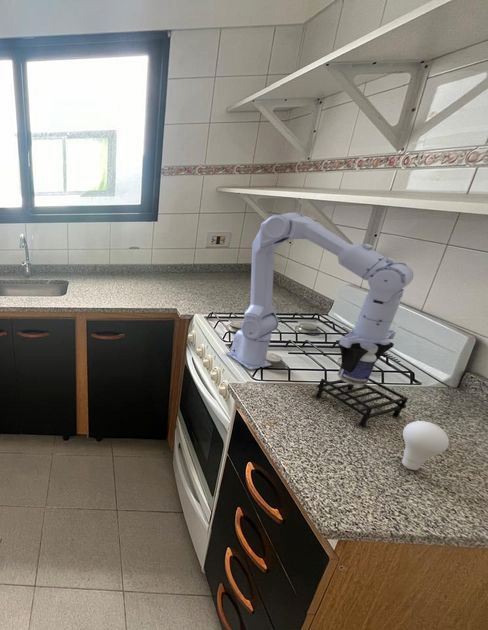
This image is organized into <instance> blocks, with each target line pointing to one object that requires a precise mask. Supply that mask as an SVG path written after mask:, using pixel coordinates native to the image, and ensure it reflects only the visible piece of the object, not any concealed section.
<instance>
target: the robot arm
mask: <svg viewBox="0 0 488 630" xmlns="http://www.w3.org/2000/svg"><path fill="white" fill-rule="evenodd" d="M287 240H307V241H310V242H311V243H313V244H315V245H317V246H318V247H320V248H322V249H323V250H325V251H327V252H330V253H331V254H334V255H335V256H336V257H337V260H338V264H339V265H340V266H342V267H343V268H345V269H346V270H348V271H350V272H352V273H353V274H354V275H356V276H358V277H359V278H361V279H363V280H364V281H367V282H368V287H369V290H368V293H367V295H366V297H365V299H364V301H363V305H362V307H361V310H360V312H359V315H358V317H357V321H356V324H355V326H354V327H353V328H354V329H352V330H351V331H349V332H348V333H347V334H346V335H344V336H341V337H340V339H339V340H338V342H337V345H338V347H339V350H340V354H341V364H342V369H344V370H346V371H347V372H352V371H353V370H354V369H355V367H356V365H357V363H358V362H359V360H360V359H361V358H362V357H363V356H364V355H365V354H366V353H367V352H369V351H367V350H365V349H363V348H361V346H360V344H361V343H373V344H375V345H377V346H378V350H377V352H376V353H374V354H375V355H376V358H377V359H376V362H377V361H378V360H379V359H380V358H381V357H382V356H383V355H384V354H385V353H387V352H388V351H389V350H391V349H392V348H394V345H395V343H393V342H392V341H390V340H394V338H395V335H396V333H397V331H396V330H392V329H391V325H392V323H393V321H394V318H395V315H397V314H396V313H397V311H398V309H399V306H400V304H401V300H402V298H403V296H404V292H405V287H407V286H408V285H410V284H411V283H412V281H413V279H414V272H413V270H412V268H411V267H410V266H408V265H407V264H406V263H405V262H401V261H395V259H394V258H392V257H388V258H387V257H386V256H384V255H382V254H380V253H379V252H377V251H376V250H374V249H373V245H371V244H369V243H365V244H363V243H361V242H357V243H352V244H351V243H349V242H348V241H346V240H344V239H343V238H341V237H339V236H338V235H337V234H335V233H334V232H332V231H330V230H329V229H327V228H326V227H324V226H323V225H321V224H320V223H318V222H316V221H315V220H314V219H312V218H311V217H309V216H307V215H304V214H302V213H301V212H298V211H291V212H287V213H282V214H273V215H271V216H269V217H267V218H266V219H265V220H264V221H262V223H261V224H260V229H259V231H258V233H257V234H256V236H255V238H254V239H253V241H252V244H251V272H250V273H251V274H250V305H249V306H248V308H247V309H246V310H245V312H244V317H243V320H242V322H241V325H240V329H239V330H238V331H236V333H235V334H234V336H233V340H232V345H231V349H230V352H228V353H227V355H228V356H230V358H232V359H234V360H235V361H236V362H237V363H239V364H241V365H242V366H244V367H245V368H246V369H248V370H250V371H251V370H257V369H261V368H260V367H262V368H266V367H270V366H272V363H271V362H270V361H268V360H266V358H267V354H268V351H269V347H270V343H271V340H272V332H273V331H276V330H277V328H278V327H279V324H280V322H279V318H278V317H277V311H276V310H277V309H276V308H275V306H274V305H273V292H274V291H273V289H274V267H275V250H276V249H277V248H278V247H279V246H281V245H282V244H283V243H284V242H286V241H287Z"/></svg>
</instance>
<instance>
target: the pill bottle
mask: <svg viewBox="0 0 488 630" xmlns="http://www.w3.org/2000/svg"><path fill="white" fill-rule="evenodd" d="M360 346H361V348H363V349H365V350H367V351H369V352H367V353H366V354H365V355H364V356H363V357H362V358H361V359H360V360H359V362H358V363H357V365H356V367H355V369H354V370H353V371H352V372H347V371H346V370H344V369H342V363H341V364H340V367H339V370H338V373H337V376H338V379H339V380H342V381H344V382H343V383H346V384H352V385H354V386H358V387H363V386H362V385H365V384H367V383H368V382H369V381H368V379H369V378H371V374H372V372H373V370H374V367H375V365H376V363H377V361H376V359H377V358H376V355H375V354H374V353H376V352H377V350H378V346H377V345H375V344H373V343H361V344H360Z"/></svg>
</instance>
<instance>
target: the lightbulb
mask: <svg viewBox="0 0 488 630" xmlns="http://www.w3.org/2000/svg"><path fill="white" fill-rule="evenodd" d="M402 437H403V441H404V447H405V448H404V451H403V457H402V459H401V463H402V465H403V466H404V467H405V468H406V469H408V470H412V471H418V470H419V469H420V468H421V467H422V465H424V464H425V463H426V462H427V461H428V460H429V459H430V458H431V457H433V456H437V455H439V454H442V453H444V452H445V451H446V450H447V449H448V447H449V445H450V440H449V437H448V434H447V433H446V431H445V430H444V429H442V428H441V427H440V426H439V425H437V424H435V423H432V422H430V421H426V420H425V421H424V420H415V421H412V422H409V423H408V424H407V425H405V426H404V428H403V430H402Z"/></svg>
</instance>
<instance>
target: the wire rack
mask: <svg viewBox="0 0 488 630" xmlns="http://www.w3.org/2000/svg"><path fill="white" fill-rule="evenodd" d="M367 382H370V383H372V384H373V385H376V386H378V387H379V388H381V389H384V390H385V391H387V392H389V393H391V394H393V395H395V396H396V397H399V398H396V399H394V398H392V397H391V396H389V395H387V394H386V393H383V392H381V391H379V390H378V389H376V388H374V387H373V386H370V385H369V384H367V383H366V384H365V385H362V386H359V387H357V388H354V386H355V385H352V384H349V383H346V384H342V383H345V382H344V381H342V380H341V379H337V380H333V381H328V380H326V379H324V378H321V379H320V381H319V384H317V385H316V388H318V389H317V391H316V394H315V398H317V399H321V397H322V395H323V393H326V394H327V395H329V396H331V397H333V398H334V399H336V400H337V401H339V402H340V403H342V404H344V405H345V406H347V407H348V408H350V409H352V410H353V411H355V412H356V413H358V414H360V415H361V416H362V417H361V419H360V422H359V424H358V425H359V426H360V427H361V428H364V427H366V425H367V423H368V421H369V419H372V418H375V417H379V416H382V415H387V414H390V413H392V416H393V417H395V418H399V416H400V414H401V412H402V410H403V409H406V408H407V405H406V403H407V401H408V400H409V398H408V397H406V396H405V395H403V394H400V393H398V392H397V391H395V390H393V389H391V388H389V387H387V386H386V385H384V384H381V383H380V382H377V381H376V380H374V379H372V378H371V377H369V379H368V381H367ZM338 384H342V385H338ZM336 385H338V386H336ZM325 387H331V388H325ZM345 388H346V390H343V389H345ZM363 390H369V391H367V392H364V393H359V394H355V395H352V393H355V392H359V391H363ZM332 391H338V392H336V393H334V392H332ZM374 394H375V395H379V396H375V397H371V398H367V399H363V400H360V399H359V398H362V397H367V396H371V395H374ZM340 396H346V397H345V398H344V397H340ZM382 399H385V400H387V401H384V402H380V403H377V404H373V405H369V404H367V403H370V402H375V401H378V400H382ZM351 400H353V401H354V402H352V403H350V402H349V401H351ZM394 404H395V405H396V406H394V407H390V408H387V409H383V410H379V411H376V412H372V411H373V410H375V409H378V408H383V407H386V406H389V405H394ZM359 405H361V406H363V407H362V408H358V407H357V406H359Z"/></svg>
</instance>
